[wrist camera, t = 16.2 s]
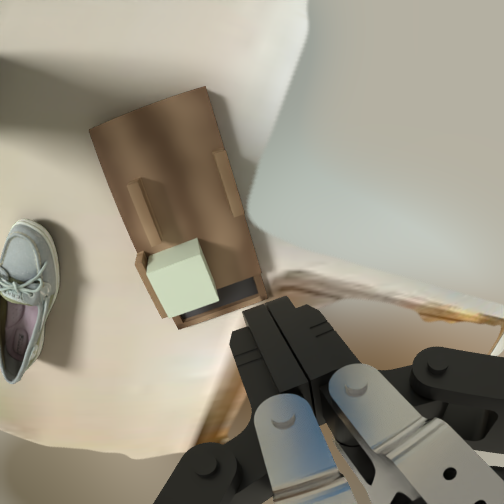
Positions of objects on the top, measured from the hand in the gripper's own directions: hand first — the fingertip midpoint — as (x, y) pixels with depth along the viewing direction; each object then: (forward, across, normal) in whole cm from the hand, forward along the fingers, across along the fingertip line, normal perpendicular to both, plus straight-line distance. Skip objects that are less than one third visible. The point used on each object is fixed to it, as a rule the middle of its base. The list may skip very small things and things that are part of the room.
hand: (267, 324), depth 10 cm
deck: (+28, +2, +5) cm, 29 cm away
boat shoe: (+30, +27, +8) cm, 41 cm away
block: (+26, +4, +10) cm, 28 cm away
